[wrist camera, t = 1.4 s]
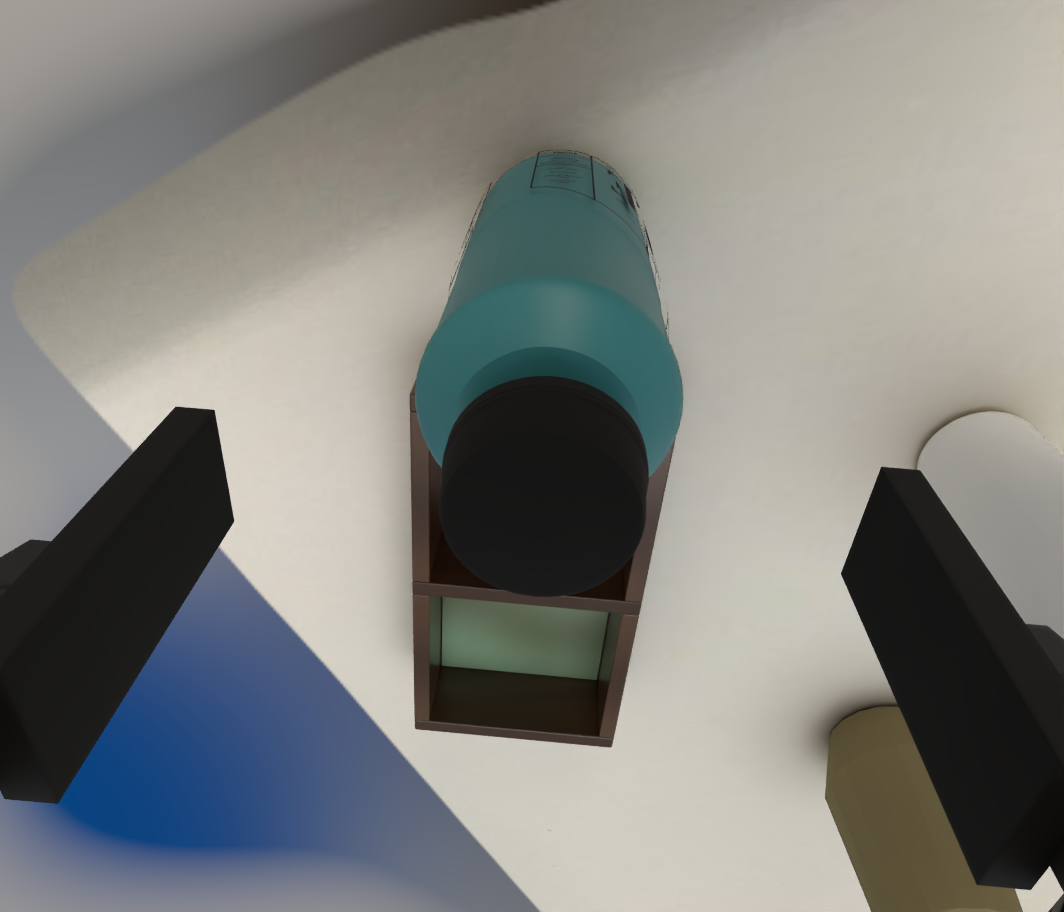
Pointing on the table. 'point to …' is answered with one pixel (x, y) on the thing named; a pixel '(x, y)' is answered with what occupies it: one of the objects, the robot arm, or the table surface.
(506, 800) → the table surface
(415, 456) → the divided box
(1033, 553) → the drinking glass
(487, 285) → the beverage bottle
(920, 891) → the squeeze bottle
